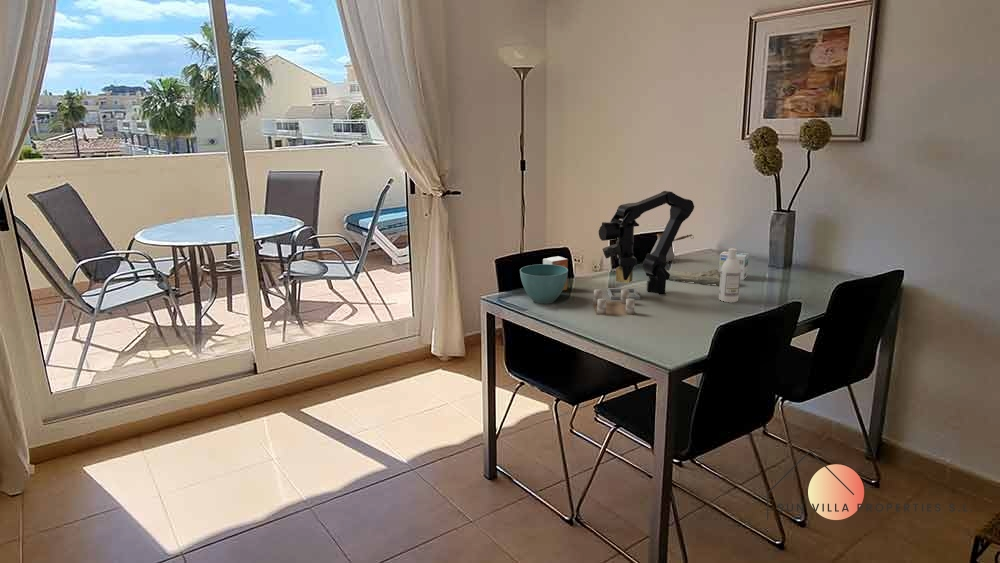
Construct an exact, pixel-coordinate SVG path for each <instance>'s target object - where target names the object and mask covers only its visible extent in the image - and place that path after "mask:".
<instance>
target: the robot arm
mask: <svg viewBox="0 0 1000 563" xmlns="http://www.w3.org/2000/svg"><path fill="white" fill-rule="evenodd" d="M665 204H666V205H668V206H670V208H669V217H670V218H669V220H668V222H667V223H666V226H665V228H664V229H663V232H662V233H663V234H662V233H661V234H662V236H661V238H660V240H659V242H658V245H657V247H656V249H655V251H654V252H653V253H651V252H650V253H651V254H650V253H649V252H647V253H646V255H645V258H644V260H643V261H642V263H643V265H642V269H643V271H644V272H645V276H646V277H648V280H646V292H647V293H653V294H658V296H659V295H660V296H663V295H664V296H666V295H667V292H666V287H667V286H666V283H667V281H668V279H669V277H670V274H669V273H668V272H667V271H666V270H667V269H666V266H667V263H666V256H667V253H668V251H669V249H670V247H672V244H673V243H674V242H675V241H674V239H676V237H677V234H678V232H679V230H680V228H681V226H682V224H683V223H684V222H685V221H686V220H687V219H688V218H689V217H690V216H691V214H692V213H693V211H694V210H695V204H694V201H693V200H691V199H689V198H684V197H682V196H680V195H678V194H676V193H674V192H673V191H669V190H663V191H661V192H660V193H656V194H654V195H653V196H650V197H647V198H644V199H642V200H640V201H636V202H629V203H623V204H620V205H619V206H617V209H616V212H615V213H614V215H613V216H612V218H611V219H610V221H608V222H606V221H603V222H601V225H600V227H599V229H598V236H599V239H600V241H604V242H605V241H614V240H616V241H615V242H616V243H615V244H611V245H608V246H605V247H603V248H602V252H603V255H604V257H605V259H610V257H611V258H612V257H614V258H615V260H616V262H618V265H619V266H621V267H622V270H623V277H624V280H627V279H628V277H629V275H630V273H631V271H632V269H633V270H634V268H635V266H637V265H638V259H637V258H636V257H635V256H634V254H635V252H634V245H635V241H634V238H635V237H634V232H635V227H639V226H640V224H639V223H638V222H637V221H636V220H637V219H638V218H640V217H641V216H642V214H645V213H646V212H648V211H651V210H653V209H655V208H658V207H661V206H663V205H665Z"/></svg>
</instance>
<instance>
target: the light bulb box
mask: <svg viewBox="0 0 1000 563" xmlns="http://www.w3.org/2000/svg"><path fill="white" fill-rule="evenodd" d="M727 258H728V251H722V252H721V253H720V254H719V262H718V263H719V264H718V266H719V267H718V271H719V272H721V268H722V265H723V263H724V262H725V261H726V260H727ZM736 259H737V261H738V263H739V265H740V268H741V274H740V279H745V278H746V277H747V278H748V268H749V267H748V266H749V253H745V252H737V254H736ZM747 278H746V279H747ZM746 279H745V280H746Z"/></svg>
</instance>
